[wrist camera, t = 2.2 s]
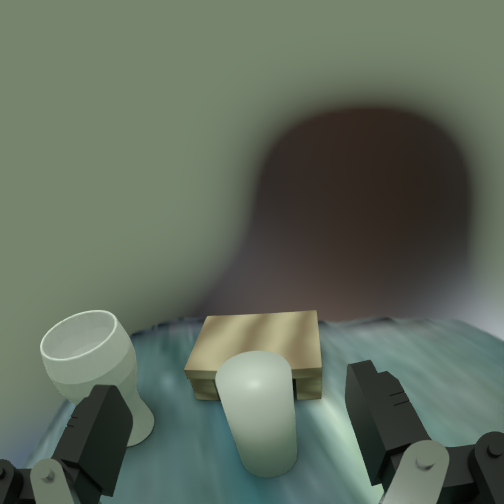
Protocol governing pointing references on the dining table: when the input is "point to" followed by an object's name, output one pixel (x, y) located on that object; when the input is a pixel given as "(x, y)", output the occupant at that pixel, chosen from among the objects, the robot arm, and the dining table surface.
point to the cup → (95, 363)
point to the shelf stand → (258, 348)
